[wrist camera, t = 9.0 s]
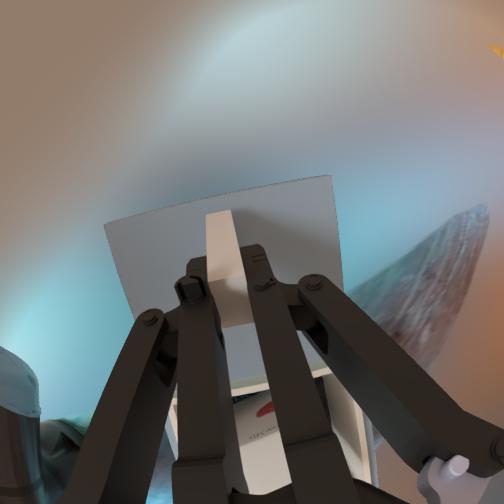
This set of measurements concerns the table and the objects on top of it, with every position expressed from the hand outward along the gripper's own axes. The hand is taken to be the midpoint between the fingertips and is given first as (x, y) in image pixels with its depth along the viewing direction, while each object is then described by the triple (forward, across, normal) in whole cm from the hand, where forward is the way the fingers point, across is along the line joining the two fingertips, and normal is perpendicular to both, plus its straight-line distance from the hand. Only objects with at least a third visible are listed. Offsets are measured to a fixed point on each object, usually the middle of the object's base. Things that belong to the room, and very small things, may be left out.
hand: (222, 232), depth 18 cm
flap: (-2, 0, -12) cm, 12 cm away
